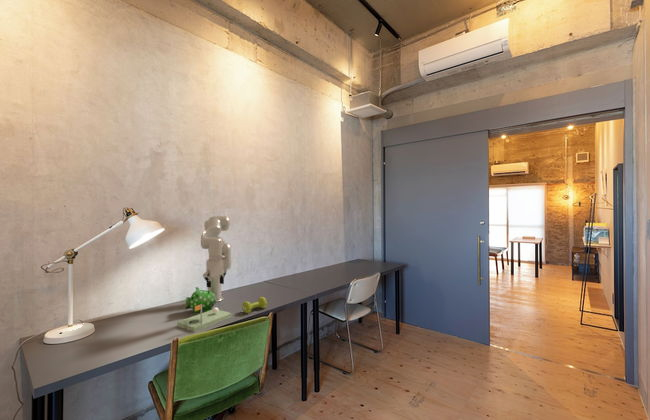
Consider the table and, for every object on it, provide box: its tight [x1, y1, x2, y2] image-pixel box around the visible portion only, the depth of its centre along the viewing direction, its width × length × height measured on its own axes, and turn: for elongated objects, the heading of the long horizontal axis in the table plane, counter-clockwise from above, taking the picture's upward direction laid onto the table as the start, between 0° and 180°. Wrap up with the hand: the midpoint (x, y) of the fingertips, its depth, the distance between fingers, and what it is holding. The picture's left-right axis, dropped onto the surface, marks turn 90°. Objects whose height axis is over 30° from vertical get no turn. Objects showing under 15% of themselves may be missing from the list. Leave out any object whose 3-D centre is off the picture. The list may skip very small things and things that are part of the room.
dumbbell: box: [241, 296, 268, 314], centre depth 198 cm, size 16×8×7 cm, turn 139°
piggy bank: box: [185, 286, 216, 315], centre depth 196 cm, size 14×18×15 cm
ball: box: [211, 306, 220, 314], centre depth 184 cm, size 4×4×4 cm
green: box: [176, 304, 233, 333], centre depth 178 cm, size 16×26×14 cm, turn 149°
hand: (215, 285), depth 184 cm, fingers open, 9 cm apart
